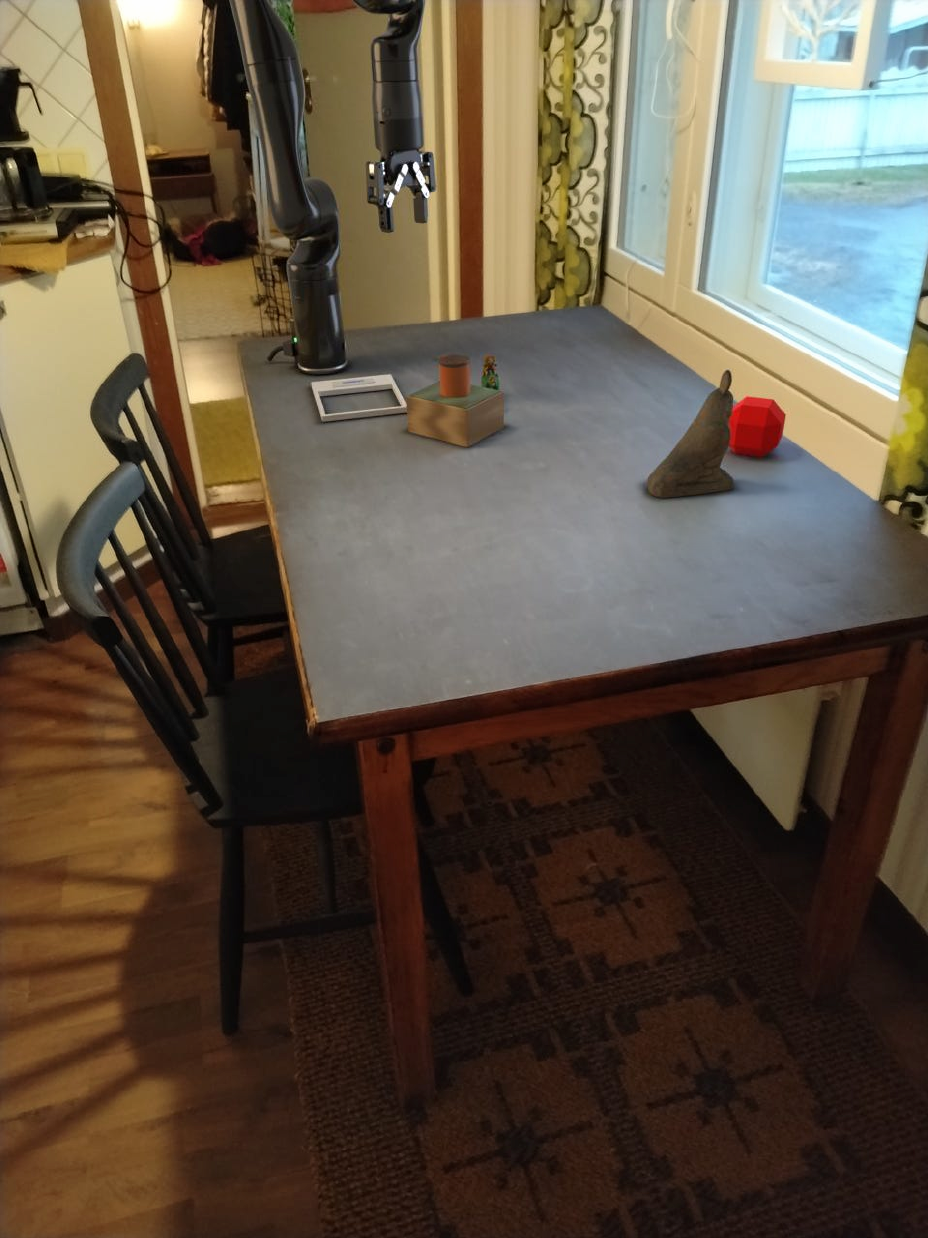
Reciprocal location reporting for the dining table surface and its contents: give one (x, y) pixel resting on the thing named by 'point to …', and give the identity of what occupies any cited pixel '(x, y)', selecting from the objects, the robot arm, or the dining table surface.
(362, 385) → the photo frame
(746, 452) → the ball
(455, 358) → the orange tin
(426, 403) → the riser block
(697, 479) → the brown carved statuette
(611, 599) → the dining table surface
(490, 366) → the figurine
